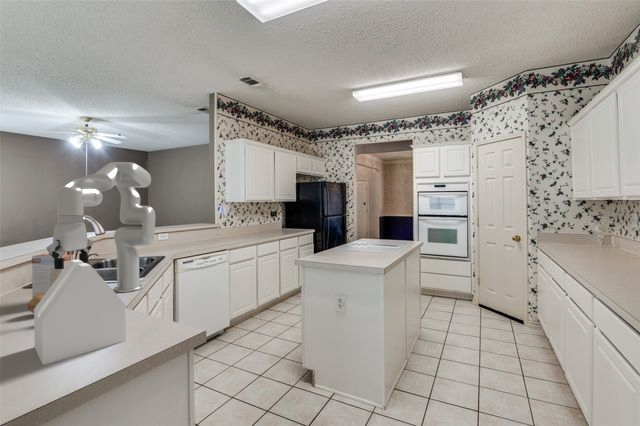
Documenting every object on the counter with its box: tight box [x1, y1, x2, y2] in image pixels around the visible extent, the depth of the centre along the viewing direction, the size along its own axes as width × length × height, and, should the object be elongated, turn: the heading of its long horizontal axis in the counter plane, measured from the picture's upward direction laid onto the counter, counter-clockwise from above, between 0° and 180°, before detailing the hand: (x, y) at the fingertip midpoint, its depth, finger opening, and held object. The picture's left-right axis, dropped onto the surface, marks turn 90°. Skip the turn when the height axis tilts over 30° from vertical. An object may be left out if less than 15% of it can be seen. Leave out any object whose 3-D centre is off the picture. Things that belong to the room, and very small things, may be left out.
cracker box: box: [31, 253, 74, 299], centre depth 132 cm, size 14×6×21 cm, turn 84°
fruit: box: [27, 294, 45, 314], centre depth 117 cm, size 8×8×8 cm
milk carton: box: [33, 258, 127, 366], centre depth 92 cm, size 19×15×25 cm
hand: (71, 266), depth 113 cm, fingers open, 9 cm apart
